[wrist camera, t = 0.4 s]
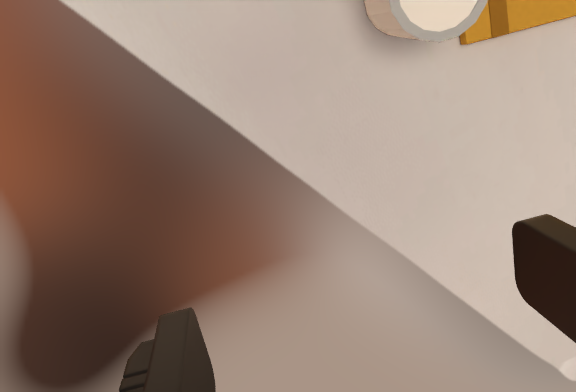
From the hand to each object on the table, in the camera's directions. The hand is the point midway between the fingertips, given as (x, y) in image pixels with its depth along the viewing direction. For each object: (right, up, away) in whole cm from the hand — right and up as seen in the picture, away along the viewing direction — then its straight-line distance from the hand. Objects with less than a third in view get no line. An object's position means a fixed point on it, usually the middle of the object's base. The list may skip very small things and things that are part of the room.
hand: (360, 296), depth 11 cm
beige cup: (+7, +18, +25) cm, 31 cm away
